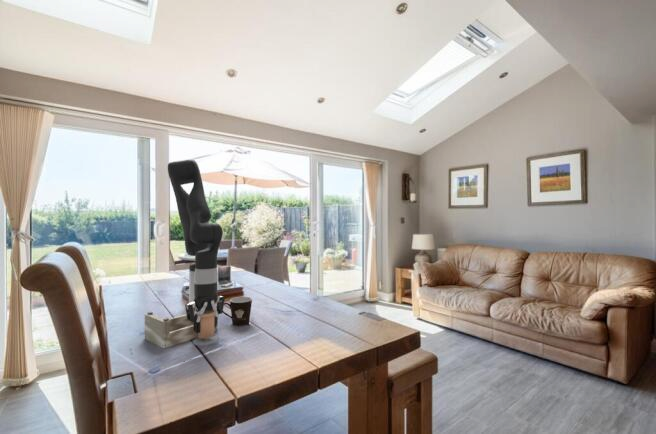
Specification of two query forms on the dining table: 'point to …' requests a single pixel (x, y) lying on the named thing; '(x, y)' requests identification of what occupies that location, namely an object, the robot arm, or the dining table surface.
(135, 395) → the dining table surface
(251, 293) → the dining table surface
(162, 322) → the wooden box
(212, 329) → the pot
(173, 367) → the dining table surface
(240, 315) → the coffee mug
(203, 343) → the saucer
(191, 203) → the robot arm
